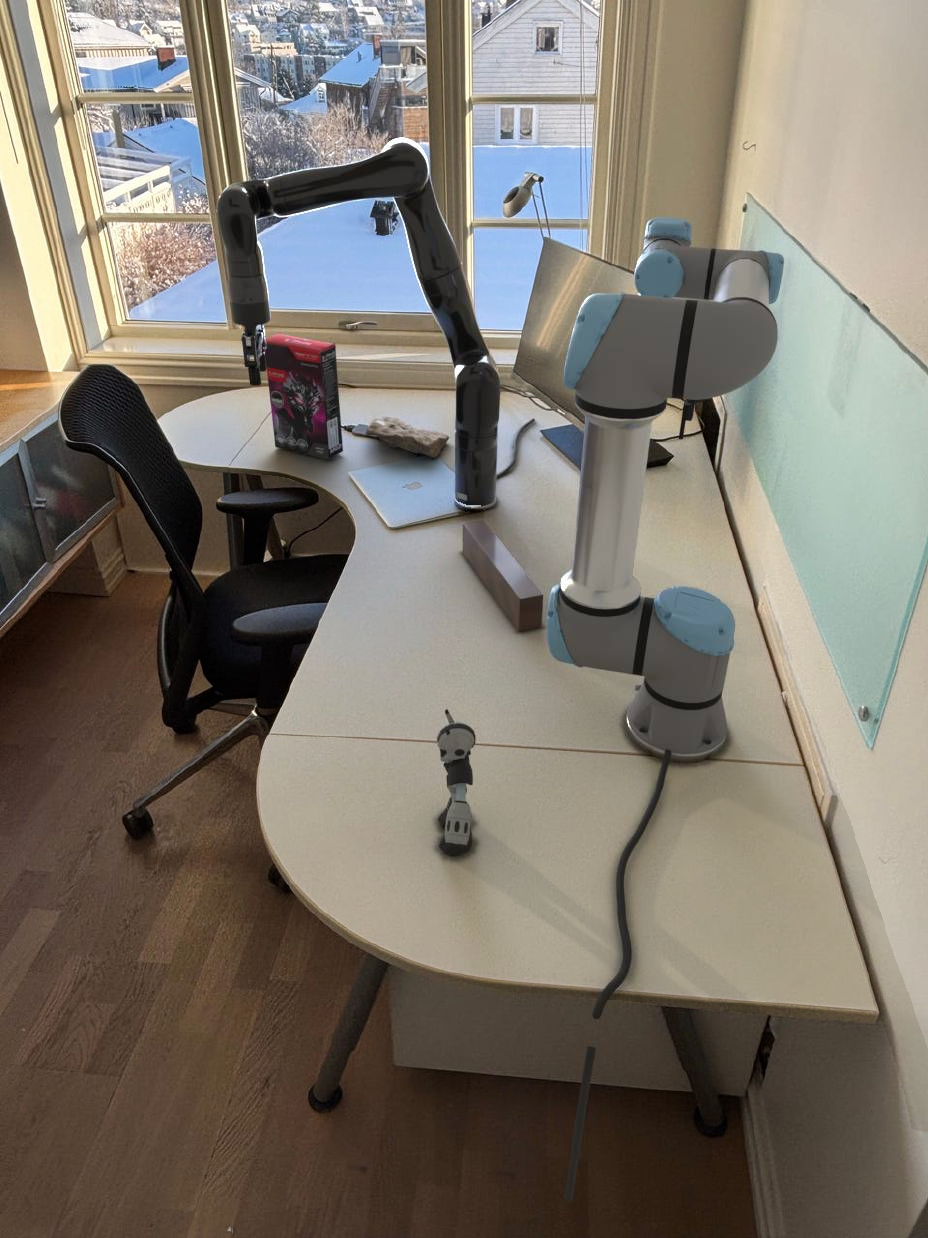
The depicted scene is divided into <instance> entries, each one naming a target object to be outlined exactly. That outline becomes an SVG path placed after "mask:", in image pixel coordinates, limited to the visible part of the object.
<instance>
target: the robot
mask: <svg viewBox="0 0 928 1238" xmlns="http://www.w3.org/2000/svg"><path fill="white" fill-rule="evenodd" d="M444 713H445V717H446V719H447V723H448V724H445V726H444V727H443V728H441V729H440V730H439V731H438V733H437V736H436V743H437V747H438V748H439V760H440V761H441V762H442V763H443V764H442V765H443V767H444V770H445V771H446V777H445V778H446V788H447V789H448V792H449V793H450V797H449V799H448V801H447V804H446V806H445V808H444V810H443V812H441V813H440V814H439V816H438V818H437V821H438V823H439V825H440V827H441V828H442V829H443V830H444V833H443V835H442V837H441V839H440V843H439V845H438V848H439V849H440V850H441V851H442V852H443V853H444V855H449V856H451V857H452V856H453V857H454V856H460V855H462V854H465V853H467V852H469V851H471V848H472V845H473V834H472V830H471V827H472V817H473V816H472V810H471V806H470V804H469V803H468V801H467V797H466V796H467V793H468V787H467V785H469V786H473V785H474V776H473V768H472V765H471V763H470V756H471V755H472V751H471V749H472V748H474V747H475V745H476V741H477V738H476V733H475V730H474V729H473V728H472V727H471V726H470V725H468V724H466V723H464V722H461V721H455V720H454V719H453V716H452V714H451V713H450V711H449V709H448V708H446V709H445V710H444Z"/></svg>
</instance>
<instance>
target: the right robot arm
mask: <svg viewBox="0 0 928 1238" xmlns="http://www.w3.org/2000/svg"><path fill="white" fill-rule="evenodd" d="M692 232H693V225H692V223H691V222H690V221H689V220H687V219H685V218H679V217H673V216H672V217H671V216H668V217H667V216H660V217H653V218H651V219H649V220H648V222H647V223H646V226H645V234H644V236H643V247H642V248H643V249H642V252H641V255H640V257H638V259H637V261H636V263H635V268H634V274H633V282H634V287H635V289H636V291H637V293H638V294H632V293H626V292H620V293H599V292H598V293H593V294H591V295H589V296H588V297H586V298H585V299H584V301H583V302H582V303H581V306H580V308H579V309H578V313H577V315H576V318H575V322H574V326H573V329H572V332H571V337H570V339H569V345H568V347H567V348H568V349H567V353H566V358H565V363H564V370H563V380H562V382H563V383H562V384H563V386H564V387H565V388H568V389H569V390H571V391H574V390H575V391H574V392H575V395H574V405H575V407H576V408H577V409H578V411H579V412H580V413H581V414H582V415H583V416H584V417H585V418H584V428H583V429H584V430H583V440H582V452H581V464H580V476H579V488H578V499H577V510H576V520H575V521H576V522H575V534H574V543H573V544H574V545H573V557H572V567H571V569H570V570H568V571H567V572H565V573H564V575H563V576H562V577H561V579H560V583H559V584H555V585H554V586H553V587H552V588H551V590H550V593H549V596H548V601H547V614H546V615H547V617H546V641H547V646H548V651H549V653H550V655H551V656H552V658H554V659H555V660H556V661H557V662H560V663H563V664H567V665H568V664H569V665H573V666H575V667H577V668H583V667H584V668H588V669H589V668H591V669H596V670H602V671H607V672H613V673H620V674H627V675H633V676H638V677H639V676H640V677H643V682H642V684H636V685H635V686H634V687H635V688H634V691H637V692H636V694H635V695H634V697H633V699H632V701H631V702H630V704H629V706H628V708H627V711H626V719H625V728H626V732H627V734H628V736H629V738H630V739H631V741H632V742H634V744H636V745H637V746H638V747H639V748H640V749H641V750H643V751H645V752H646V753H648V754H650V755H651V756H654V757H656V758H659V759H662V761H661V765H660V768H659V772H658V777H657V780H656V785H655V789H654V791H653V793H652V797H651V799H650V802H649V804H648V806H647V808H646V810H645V812H644V815H643V816H642V818H641V821H640V822H639V824H638V827H637V828H636V830H635V832H634V833H633V835H632V836H631V838H630V840H629V841H628V842H627V844H626V846H625V847H624V849H623V851H622V853H621V856H620V858H619V861H618V864H617V868H616V869H617V870H616V875H615V876H616V878H615V892H616V907H617V908H616V909H617V922H618V929H619V933H620V938H621V943H622V962H621V966H620V968H619V971H618V972H617V974H616V975H615V976H614V977H613V978H612V979H611V981H610V982H608V984H607V985H605V987H604V988H603V989H602V991H601V992H600V994H599V995H598V997H597V999H596V1002H595V1003H594V1004H595V1005H594V1007H593V1010H592V1013H591V1016H592V1018H593V1019H594V1020H599V1019H600V1018H601V1016H602V1014H603V1011H604V1009H605V1006H606V1004H607V1002H608V1000H609V999H610V997H611V996H612V995H613V994H614V992H615V991H616V990H617V989H618V988H620V986H621V985H622V983H623V982H624V981H625V980H626V979H627V976H628V975H629V974H628V973H629V971H630V969H631V963H632V956H633V955H632V951H633V949H632V943H631V942H632V941H631V937H630V931H629V927H628V921H627V911H626V909H627V908H626V898H625V897H626V896H625V894H626V893H625V872H626V867H627V864H628V860H629V859H630V855H631V854H632V852H633V851H634V849H635V847H636V845H637V844H638V843H639V841H640V840H641V838H642V836H643V834H644V833H645V830H646V829H647V826H648V825H649V824H650V823H649V822H650V821H651V818H652V817H653V815H654V812H655V810H656V808H657V806H658V803H659V800H660V798H661V795H662V792H663V788H664V785H665V781H666V778H667V777H666V776H667V773H668V768H669V764H670V762H675V763H694V762H700V761H703V760H706V759H709V758H711V757H714V755H716V754H718V752H720V751H721V750H722V748H723V747H724V744H725V743H726V740H727V739H726V738H727V734H728V721H727V716H726V712H725V708H724V707H725V706H724V701H723V692H724V686H725V682H726V678H727V677H726V676H727V671H728V666H729V661H730V657H731V652H732V651H733V650H734V646H735V638H734V637H735V631H736V620H735V616H734V614H733V612H732V610H731V608H730V607H729V606H728V605H727V604H726V603H724V602H723V601H722V600H721V599H720V598H719V597H717V596H716V595H714V594H712V593H710V592H708V591H706V590H704V589H700V588H697V587H696V588H695V587H692V586H688V585H687V586H686V585H675V586H674V587H670V586H669V587H666V588H664V589H662V590H660V591H659V592H658V593H657V595H656V596H655V597H654V598H653V597H649V596H648V597H647V596H642V585H641V583H640V581H639V580H638V578H637V577H636V576H635V575H634V566H635V559H636V550H637V543H638V535H639V528H640V521H641V513H642V512H641V511H642V504H643V497H644V490H645V489H644V488H645V481H646V473H647V466H648V465H647V464H648V458H649V450H650V442H651V433H652V427H653V421H656V419H657V418H659V417H660V416H661V415H663V414H664V413H665V412H666V410H667V403H668V399H676V400H677V399H678V400H683V405H682V412H681V418H680V419H681V420H680V426H679V432H678V440H681V441H682V440H683V439H684V435H685V429H686V423H687V422H692V421H693V419H694V412H695V406H696V404H698V403H704V402H706V400H708V399H709V400H710V399H712V398H713V399H714V398H716V397H721V396H723V395H724V396H725V395H726V394H729V393H732V392H734V391H737V390H738V389H741V388H742V387H743V386H745V385H747V384H748V383H750V382H751V381H752V380H754V379H755V378H756V377H758V376H759V375H760V374H761V373H762V372H763V371H764V370H765V369H766V367H767V366H768V365H769V364H770V362H771V360H772V358H773V356H774V354H775V352H776V350H777V345H778V341H779V340H778V339H779V333H778V323H777V320H776V317H775V315H774V313H773V312H772V310H771V309H770V305H773V304H775V303H776V302H777V299H778V298H779V295H780V290H781V286H782V280H783V274H784V268H785V267H784V265H785V257H784V255H782V254H781V253H778V252H771V251H766V250H762V249H759V250H745V249H743V250H742V249H727V248H725V249H724V248H715V247H701V246H691V245H692V241H693V240H692V234H693V233H692ZM596 1052H597V1047H595V1046H590V1045H587V1047H586V1053H585V1059H584V1063H583V1064H584V1065H583V1069H582V1077H581V1082H580V1090H579V1096H578V1102H577V1107H576V1109H577V1110H576V1116H575V1122H574V1129H573V1136H572V1143H571V1150H570V1151H571V1152H570V1158H569V1166H568V1172H567V1178H566V1179H567V1180H566V1186H565V1193H564V1202H565V1203H566V1204H568V1205H569V1204H572V1202H573V1198H574V1197H573V1196H574V1191H575V1184H576V1179H577V1178H576V1177H577V1170H578V1164H579V1157H580V1150H581V1145H582V1138H583V1132H584V1124H585V1118H586V1110H587V1107H588V1106H587V1105H588V1099H589V1093H590V1087H591V1080H592V1075H593V1069H594V1063H595V1056H596Z"/></svg>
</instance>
